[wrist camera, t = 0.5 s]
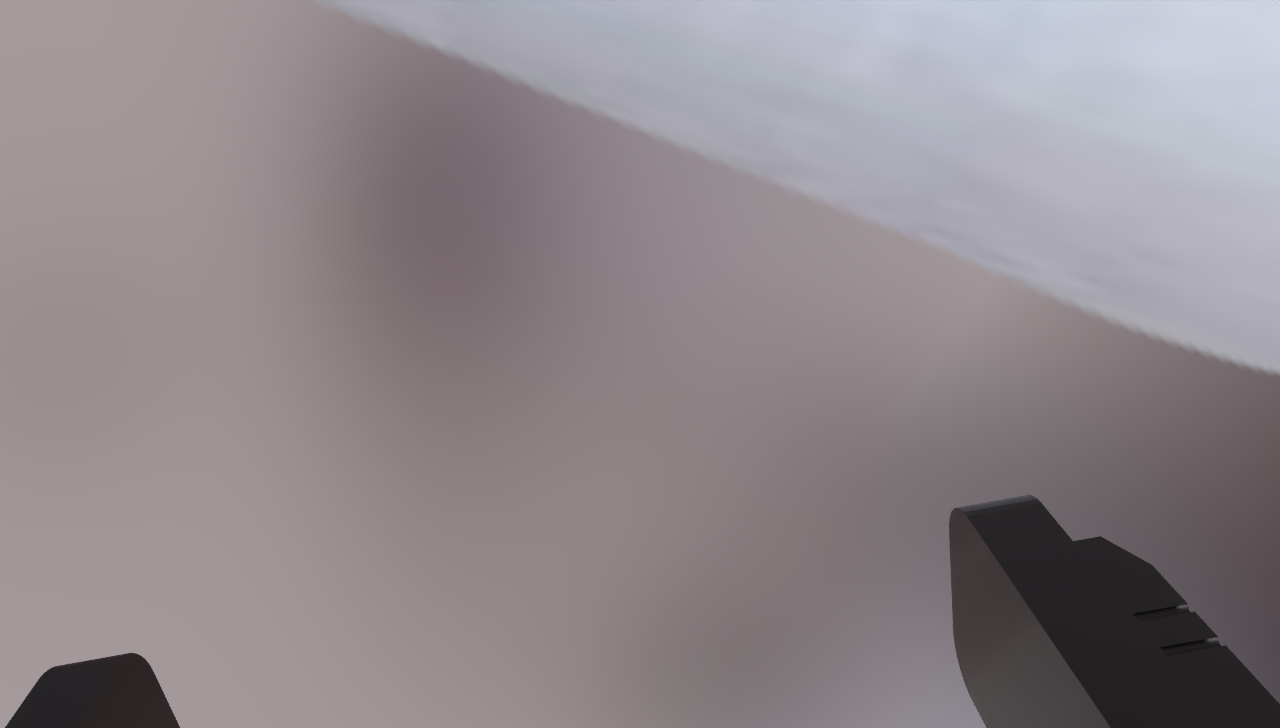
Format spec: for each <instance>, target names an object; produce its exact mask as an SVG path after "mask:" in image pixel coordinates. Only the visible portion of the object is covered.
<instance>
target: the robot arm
mask: <svg viewBox="0 0 1280 728" xmlns="http://www.w3.org/2000/svg"><path fill="white" fill-rule="evenodd" d="M949 534H950V535H949V537H950V560H951V561H950V562H951V587H952V610H953V633H954V642H955V648H956V653H957V658H958V661H959V665H960V669H961V673H962V676H963V679H964V682H965V685H966V687H967V689H968V692H969V694H970V696H971V699H972V700H973V702H974V705H975V706H976V708H977V710H978V712H979V714H980V716H981V718H982V720H983V722H984V724H985V725H986V727H987V728H1280V704H1279V703H1278V702H1277V701H1276V700H1275V699H1274V698H1273V696H1271V694H1270V693H1269V692H1268V691H1267V690H1266V689H1265V688H1264V687H1263V686H1262V684H1261V683H1260V682H1259V681H1258V680H1257V679H1256V678H1255V677H1254V676H1253V675H1252V674H1251V672H1250V671H1249V670H1248V669H1247V668H1246V667H1245V666H1244V665H1243V664H1242V663H1241V662H1240V661H1239V659H1238V658H1237V657H1236V656H1235V655H1234V654H1233V653H1232V652H1231V651H1230V650H1229V649H1228V647H1227V646H1221V645H1220V644H1219V641H1218V636H1217V635H1216V634H1215V633H1214V632H1213V631H1212V630H1211V629H1210V628H1209V627H1208V626H1207V624H1206V623H1205V622H1204V621H1203V620H1202V619H1201V618H1200V617H1199V616H1198V615H1197V614H1196V613H1195V612H1190V611H1189V609H1188V604H1187V603H1186V602H1185V600H1184V599H1183V598H1182V597H1181V596H1180V595H1179V594H1178V593H1177V592H1176V591H1175V590H1174V588H1173V587H1172V586H1171V585H1170V584H1169V583H1168V582H1167V581H1166V580H1165V579H1164V578H1163V576H1161V574H1160V573H1159V572H1158V571H1157V570H1156V569H1155V568H1154V567H1153V566H1152V565H1151V564H1149V563H1147V562H1146V561H1144V560H1142V559H1140V558H1138V557H1137V556H1135V555H1133V554H1131V553H1129V552H1128V551H1126V550H1124V549H1122V548H1120V547H1118V546H1117V545H1115V544H1113V543H1111V542H1110V541H1108V540H1106V539H1104V538H1102V537H1095V538H1089V539H1083V540H1078V541H1072V540H1071V538H1070V537H1069V536H1068V535H1067V534H1066V532H1065V531H1064V530H1063V529H1062V527H1061V526H1060V525H1059V524H1058V523H1057V521H1056V520H1055V519H1054V518H1053V517H1052V515H1051V514H1050V513H1049V512H1048V510H1047V509H1046V508H1045V507H1044V506H1043V505H1042V503H1041V502H1040V501H1039V500H1038V499H1037V498H1035V497H1034V496H1032V495H1026V496H1021V497H1015V498H1010V499H1004V500H998V501H993V502H987V503H982V504H976V505H970V506H965V507H959V508H954V509H953V510H952V512H951V515H950V522H949ZM5 728H180V727H179V725H178V722H177V720H176V718H175V716H174V714H173V712H172V710H171V708H170V706H169V703H168V701H167V699H166V697H165V695H164V693H163V691H162V689H161V687H160V684H159V682H158V680H157V678H156V676H155V674H154V672H153V670H152V668H151V666H150V665H149V663H148V662H147V661H146V660H145V659H144V658H143V657H142V656H140V655H138V654H135V653H128V654H123V655H117V656H111V657H106V658H100V659H95V660H89V661H83V662H77V663H72V664H66V665H61V666H55V667H53V668H51V669H49V670H47V671H46V672H45V673H44V674H43V675H42V676H41V677H40V679H39V680H38V681H37V683H36V684H35V686H34V687H33V688H32V690H31V691H30V693H29V694H28V696H27V697H26V699H25V700H24V701H23V703H22V704H21V706H20V707H19V709H18V710H17V711H16V713H15V714H14V716H13V717H12V718H11V720H10V721H9V723H8V724H7V726H6V727H5Z"/></svg>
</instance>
